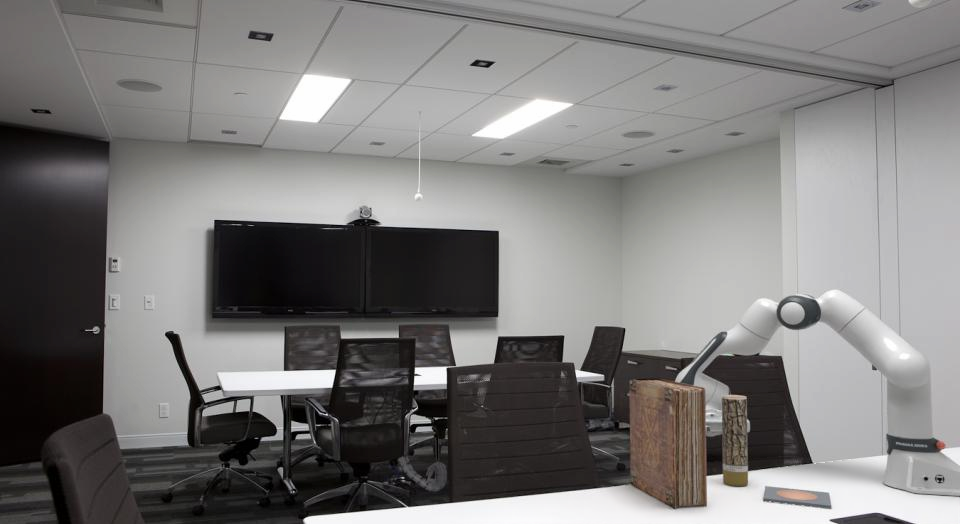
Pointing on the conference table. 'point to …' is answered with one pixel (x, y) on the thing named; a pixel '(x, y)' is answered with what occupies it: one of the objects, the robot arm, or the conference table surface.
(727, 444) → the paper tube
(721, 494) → the conference table surface
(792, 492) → the card
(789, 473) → the conference table surface
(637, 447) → the book
